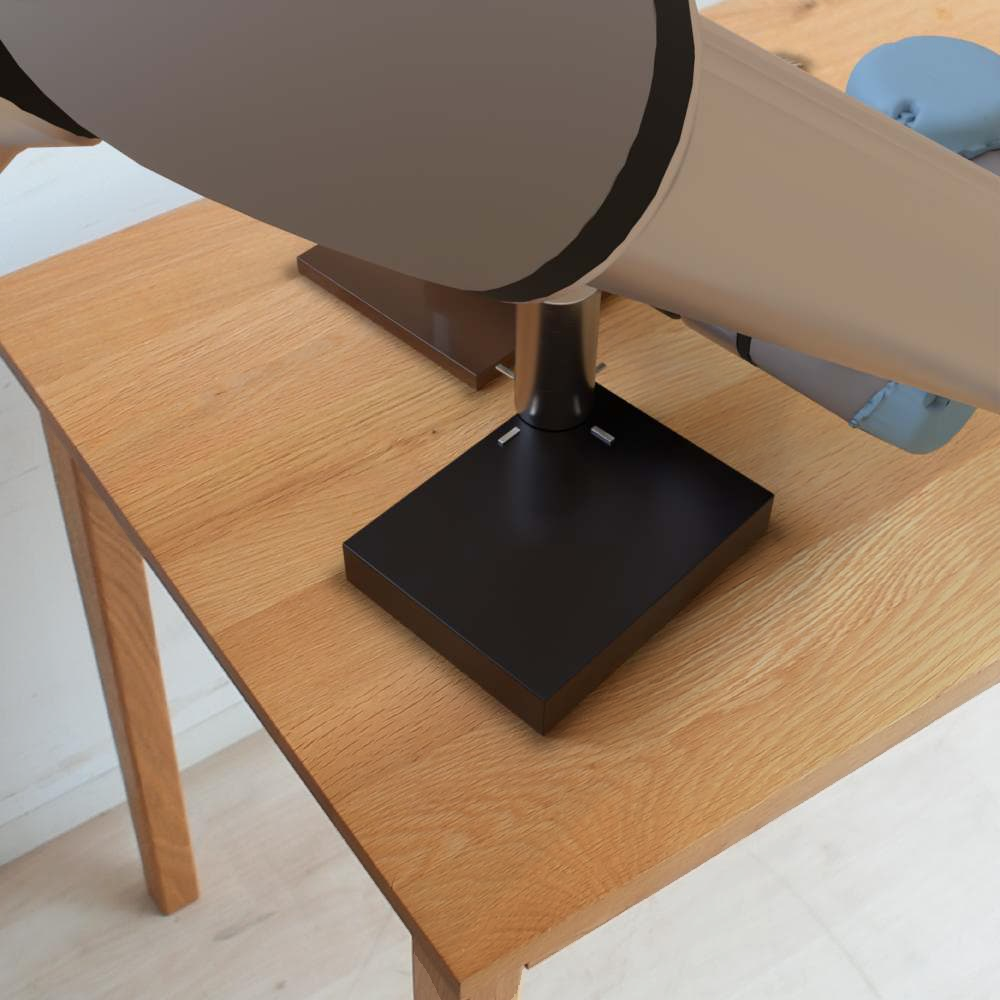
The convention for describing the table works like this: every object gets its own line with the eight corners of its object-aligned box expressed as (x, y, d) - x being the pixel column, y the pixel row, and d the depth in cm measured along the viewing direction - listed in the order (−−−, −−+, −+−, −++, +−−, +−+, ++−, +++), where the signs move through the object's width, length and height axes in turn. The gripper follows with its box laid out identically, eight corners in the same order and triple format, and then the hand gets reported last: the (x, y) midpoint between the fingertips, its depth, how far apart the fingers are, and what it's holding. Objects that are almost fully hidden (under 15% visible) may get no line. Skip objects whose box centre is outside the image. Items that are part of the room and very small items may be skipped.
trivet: (476, 390, 85) (476, 376, 84) (297, 271, 93) (295, 256, 92) (649, 266, 93) (651, 251, 92) (472, 165, 100) (471, 150, 99)
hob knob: (556, 443, 78) (562, 311, 71) (497, 403, 80) (497, 271, 73) (609, 401, 80) (620, 270, 73) (551, 364, 82) (556, 233, 75)
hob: (542, 737, 69) (544, 700, 67) (304, 546, 77) (297, 507, 75) (782, 518, 79) (791, 478, 76) (547, 368, 87) (548, 328, 84)
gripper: (589, 406, 75) (295, 218, 85) (812, 233, 84) (523, 84, 95) (596, 293, 69) (281, 107, 80) (834, 123, 79) (525, -23, 89)
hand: (413, 95), depth 87 cm, fingers closed on pot, 7 cm apart
